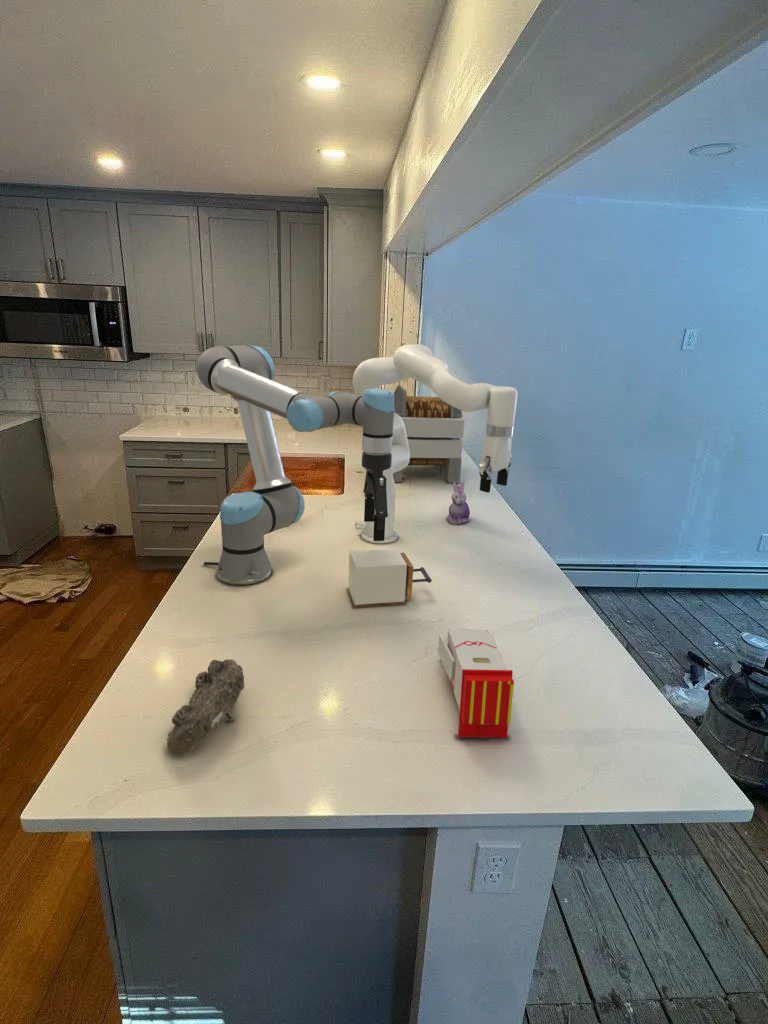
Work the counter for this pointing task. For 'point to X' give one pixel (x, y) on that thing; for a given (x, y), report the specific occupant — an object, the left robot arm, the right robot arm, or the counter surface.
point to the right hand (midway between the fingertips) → (493, 488)
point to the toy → (478, 682)
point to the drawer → (410, 576)
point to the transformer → (431, 433)
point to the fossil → (206, 705)
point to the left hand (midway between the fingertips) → (373, 530)
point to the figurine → (458, 505)
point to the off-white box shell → (377, 577)
